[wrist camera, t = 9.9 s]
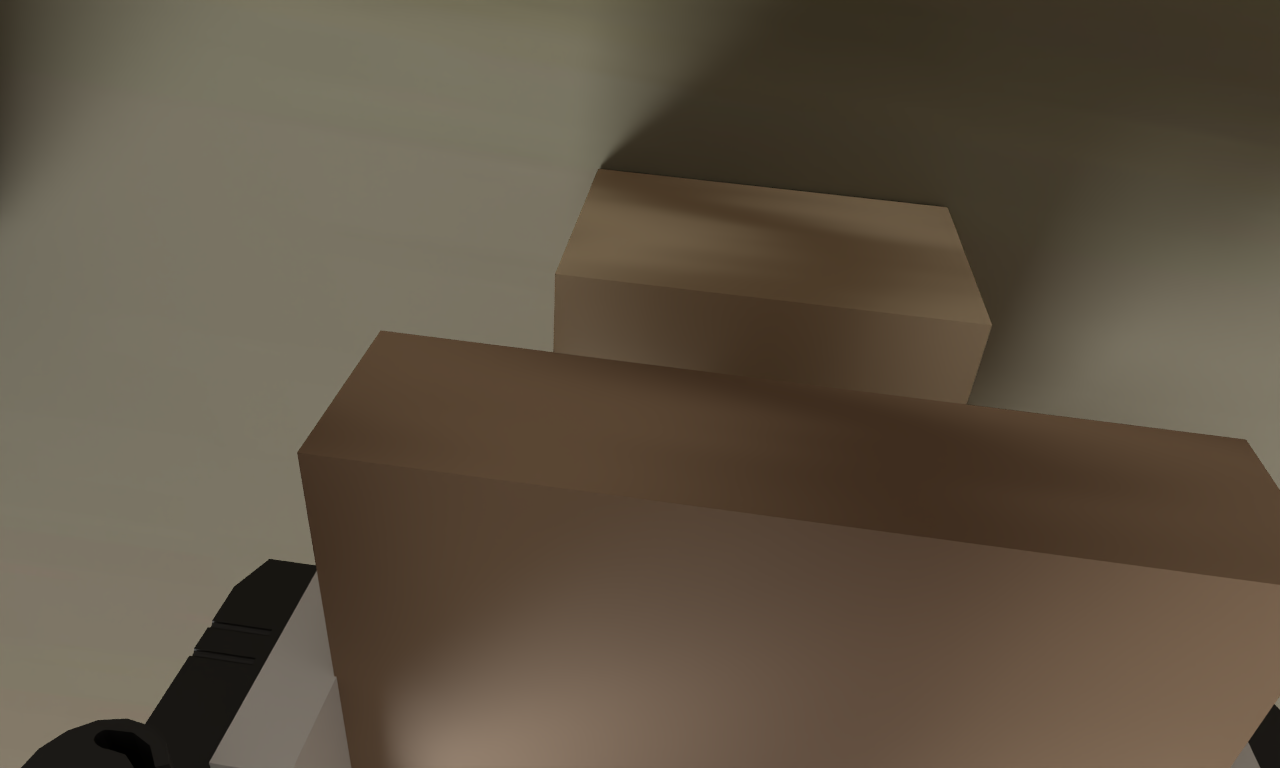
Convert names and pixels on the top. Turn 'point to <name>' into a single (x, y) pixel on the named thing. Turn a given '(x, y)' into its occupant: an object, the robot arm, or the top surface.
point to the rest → (771, 286)
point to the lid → (775, 573)
